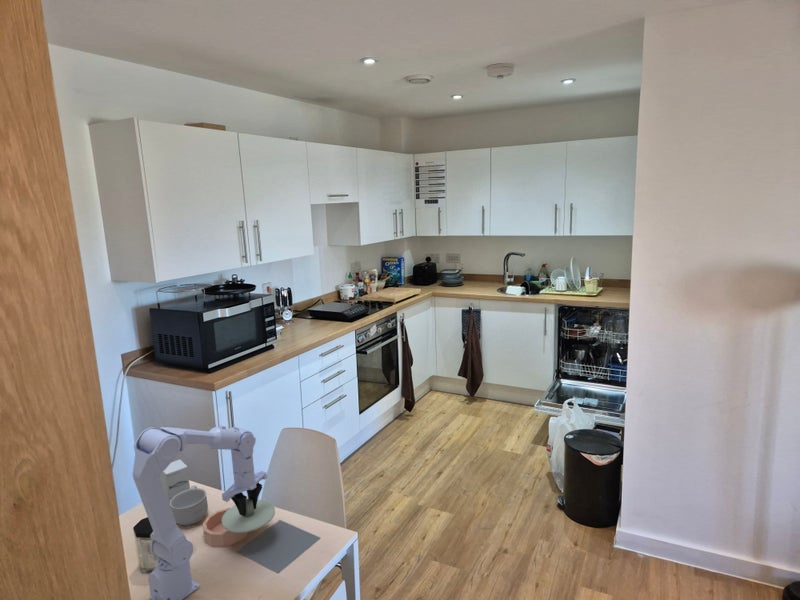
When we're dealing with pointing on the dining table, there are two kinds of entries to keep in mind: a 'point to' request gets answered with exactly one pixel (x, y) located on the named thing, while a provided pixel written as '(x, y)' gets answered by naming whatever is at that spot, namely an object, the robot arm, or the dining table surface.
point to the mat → (278, 546)
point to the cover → (248, 517)
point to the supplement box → (175, 479)
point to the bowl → (219, 531)
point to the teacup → (189, 506)
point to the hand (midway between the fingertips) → (247, 511)
